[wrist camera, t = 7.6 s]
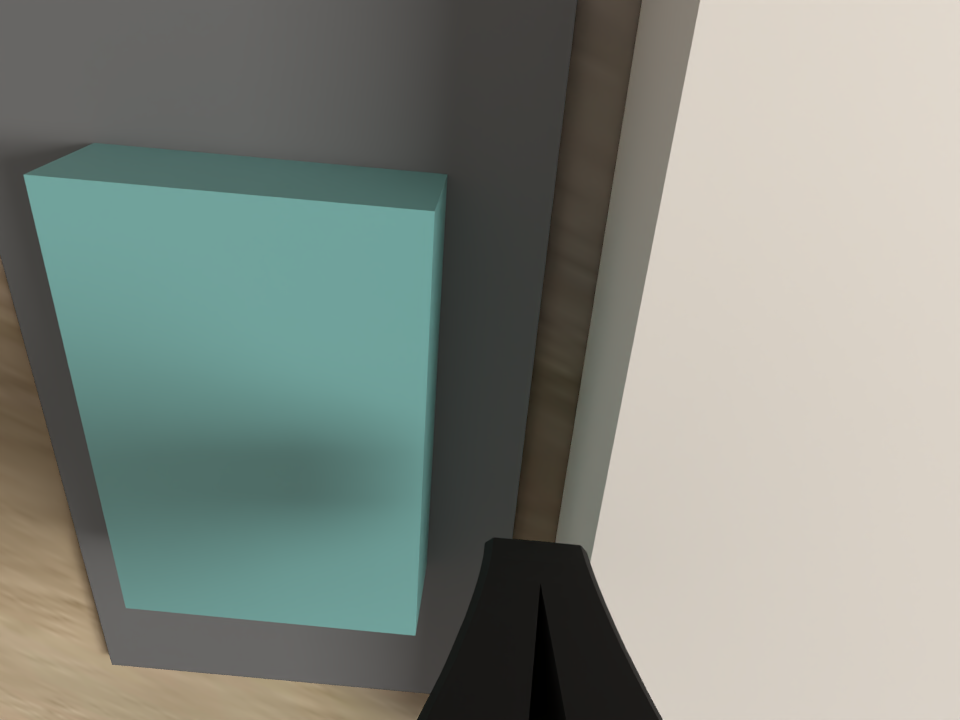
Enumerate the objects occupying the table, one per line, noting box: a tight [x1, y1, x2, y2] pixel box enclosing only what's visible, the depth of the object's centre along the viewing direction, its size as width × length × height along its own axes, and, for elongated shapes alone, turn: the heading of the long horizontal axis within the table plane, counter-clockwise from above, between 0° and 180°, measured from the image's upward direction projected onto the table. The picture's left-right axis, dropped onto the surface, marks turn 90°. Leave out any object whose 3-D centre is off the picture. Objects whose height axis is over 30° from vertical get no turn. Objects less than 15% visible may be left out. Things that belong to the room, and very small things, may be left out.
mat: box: [0, 0, 577, 694], centre depth 15 cm, size 18×10×1 cm, turn 176°
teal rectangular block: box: [23, 143, 447, 636], centre depth 14 cm, size 9×6×2 cm, turn 176°
